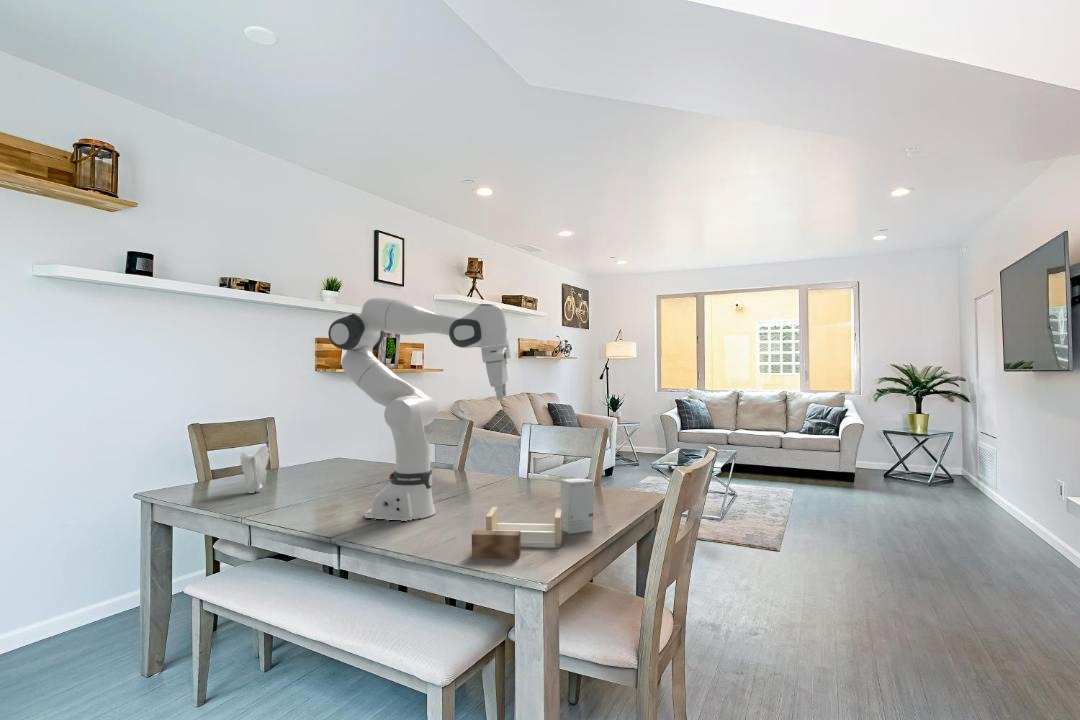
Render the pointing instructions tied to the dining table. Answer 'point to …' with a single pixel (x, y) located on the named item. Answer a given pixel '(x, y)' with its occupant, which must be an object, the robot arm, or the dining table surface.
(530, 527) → the track
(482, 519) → the dining table surface
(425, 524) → the dining table surface
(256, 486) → the shell sculpture
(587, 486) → the skincare box
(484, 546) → the brown wooden block
